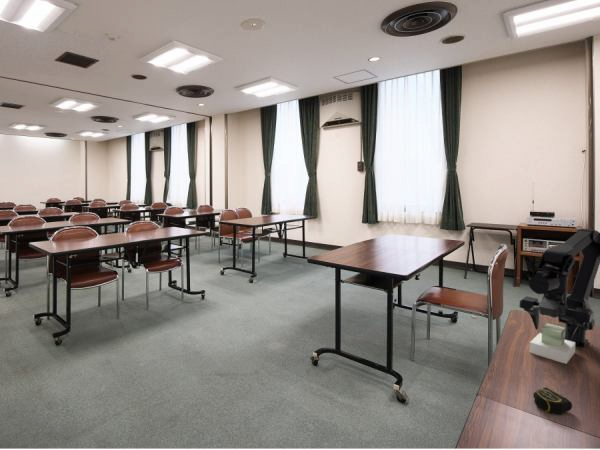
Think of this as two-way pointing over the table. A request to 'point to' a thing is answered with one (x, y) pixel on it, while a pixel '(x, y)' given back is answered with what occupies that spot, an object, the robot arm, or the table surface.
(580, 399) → the table surface
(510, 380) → the table surface
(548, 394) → the tape measure
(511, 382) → the table surface
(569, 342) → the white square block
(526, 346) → the table surface
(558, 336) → the green cube
